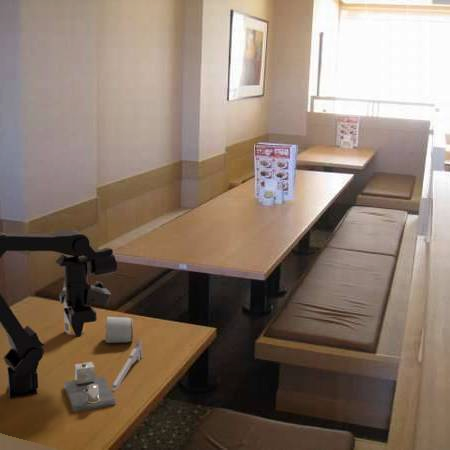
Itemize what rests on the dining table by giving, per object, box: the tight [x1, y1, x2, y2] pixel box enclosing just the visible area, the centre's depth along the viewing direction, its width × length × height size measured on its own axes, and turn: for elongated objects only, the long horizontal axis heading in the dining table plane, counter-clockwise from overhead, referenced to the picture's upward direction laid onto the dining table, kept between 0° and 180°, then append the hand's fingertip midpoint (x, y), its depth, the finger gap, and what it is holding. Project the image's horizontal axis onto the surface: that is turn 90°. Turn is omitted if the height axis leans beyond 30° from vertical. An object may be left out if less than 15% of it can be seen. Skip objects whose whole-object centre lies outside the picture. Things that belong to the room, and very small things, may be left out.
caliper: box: [110, 338, 143, 392], centre depth 170 cm, size 20×1×6 cm, turn 167°
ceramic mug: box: [105, 316, 134, 344], centre depth 192 cm, size 11×8×8 cm
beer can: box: [62, 286, 86, 336], centre depth 196 cm, size 6×6×15 cm
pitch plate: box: [63, 375, 116, 413], centre depth 158 cm, size 10×13×5 cm
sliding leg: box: [74, 361, 96, 384], centre depth 162 cm, size 4×3×4 cm
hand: (78, 336), depth 167 cm, fingers closed
